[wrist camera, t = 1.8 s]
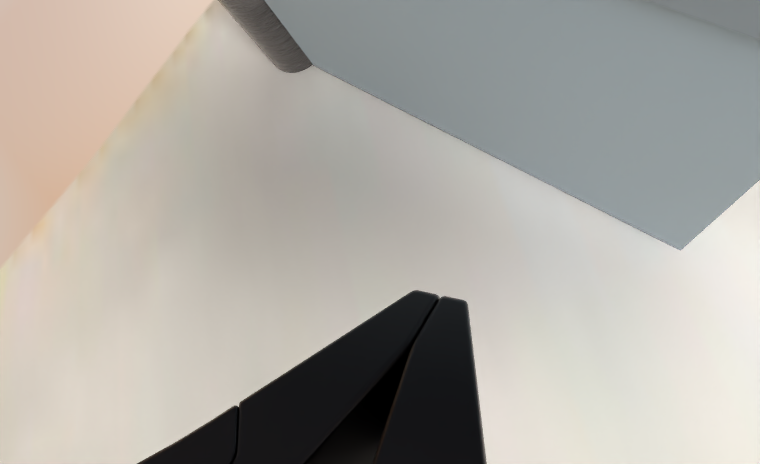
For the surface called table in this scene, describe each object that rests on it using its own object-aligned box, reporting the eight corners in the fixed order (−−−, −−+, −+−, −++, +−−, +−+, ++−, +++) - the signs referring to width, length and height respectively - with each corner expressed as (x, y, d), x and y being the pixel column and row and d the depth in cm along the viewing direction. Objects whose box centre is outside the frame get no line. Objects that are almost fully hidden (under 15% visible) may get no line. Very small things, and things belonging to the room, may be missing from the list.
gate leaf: (310, 70, 26) (72, -235, 13) (330, 39, 26) (115, -296, 13) (676, 257, 20) (936, 32, 7) (701, 215, 20) (1007, -90, 7)
